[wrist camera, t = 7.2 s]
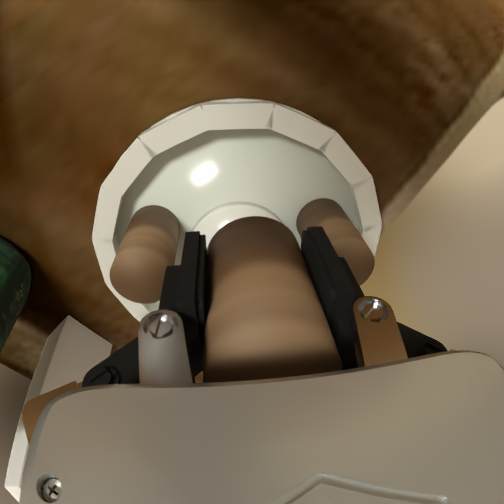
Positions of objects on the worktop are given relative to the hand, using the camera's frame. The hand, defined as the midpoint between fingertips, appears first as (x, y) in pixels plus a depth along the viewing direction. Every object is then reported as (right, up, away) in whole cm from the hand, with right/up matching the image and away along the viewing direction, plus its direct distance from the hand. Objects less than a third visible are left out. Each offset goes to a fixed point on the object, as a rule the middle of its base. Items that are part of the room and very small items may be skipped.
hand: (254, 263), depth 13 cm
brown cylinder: (-7, +2, +10) cm, 13 cm away
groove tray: (-1, +1, +13) cm, 13 cm away
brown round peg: (+5, +3, +11) cm, 13 cm away
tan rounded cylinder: (0, 0, 0) cm, 0 cm away
